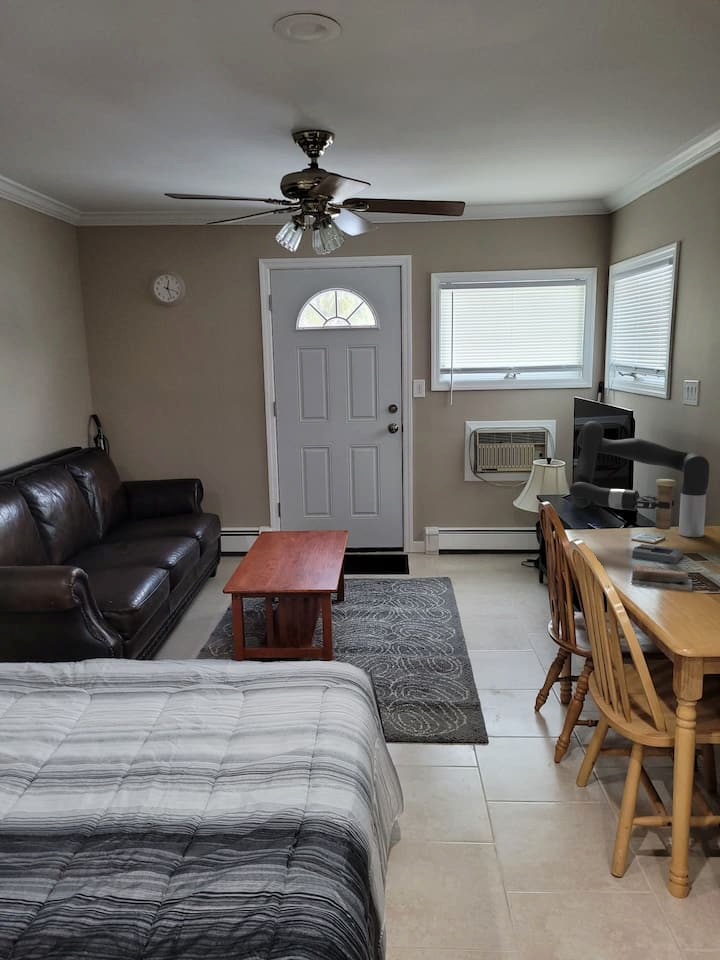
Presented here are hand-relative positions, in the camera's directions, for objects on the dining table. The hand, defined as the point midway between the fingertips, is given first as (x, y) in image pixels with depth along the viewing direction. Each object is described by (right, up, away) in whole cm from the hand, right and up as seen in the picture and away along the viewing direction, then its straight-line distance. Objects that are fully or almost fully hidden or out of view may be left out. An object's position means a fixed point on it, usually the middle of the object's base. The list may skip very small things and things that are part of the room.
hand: (671, 504), depth 244 cm
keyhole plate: (-3, -19, +6) cm, 21 cm away
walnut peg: (-2, -9, +3) cm, 9 cm away
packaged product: (-14, -25, -23) cm, 37 cm away
